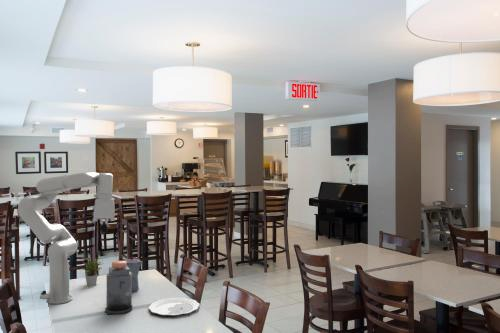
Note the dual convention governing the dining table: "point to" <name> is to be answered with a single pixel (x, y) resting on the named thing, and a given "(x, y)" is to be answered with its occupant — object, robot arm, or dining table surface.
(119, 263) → the pink rounded piece
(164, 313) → the plate
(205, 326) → the dining table surface
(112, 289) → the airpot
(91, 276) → the house plant
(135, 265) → the moka pot
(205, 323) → the dining table surface
